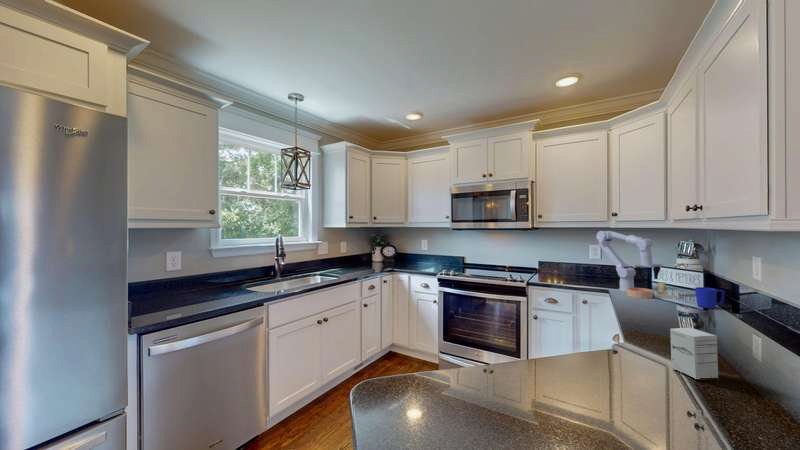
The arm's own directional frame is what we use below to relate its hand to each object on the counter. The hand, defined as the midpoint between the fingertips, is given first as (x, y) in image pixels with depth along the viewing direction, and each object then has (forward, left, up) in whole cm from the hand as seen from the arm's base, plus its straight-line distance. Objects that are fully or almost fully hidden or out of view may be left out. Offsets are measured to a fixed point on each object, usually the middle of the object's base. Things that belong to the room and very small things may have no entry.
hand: (648, 279), depth 194 cm
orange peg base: (+9, -7, -10) cm, 15 cm away
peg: (+5, +5, -9) cm, 12 cm away
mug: (+29, +17, -10) cm, 35 cm away
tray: (+5, +5, -10) cm, 12 cm away
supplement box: (+123, -29, -10) cm, 127 cm away
